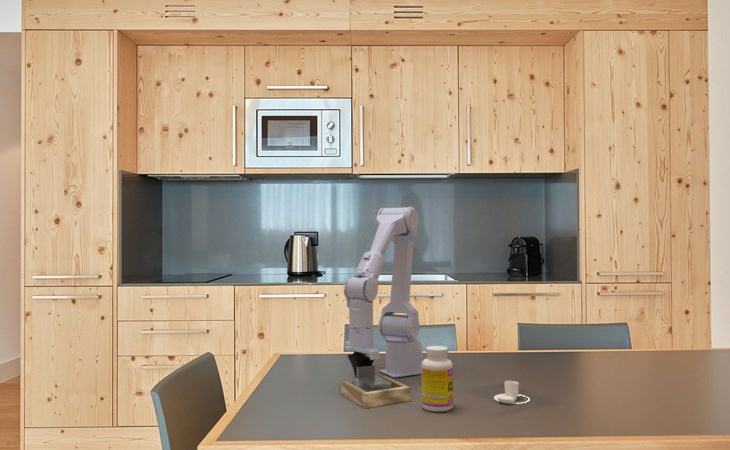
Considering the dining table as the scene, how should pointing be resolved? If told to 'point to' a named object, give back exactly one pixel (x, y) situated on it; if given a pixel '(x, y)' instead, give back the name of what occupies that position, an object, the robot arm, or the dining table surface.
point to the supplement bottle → (437, 380)
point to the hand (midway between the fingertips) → (361, 384)
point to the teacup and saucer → (510, 393)
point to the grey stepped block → (370, 379)
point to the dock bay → (377, 394)
